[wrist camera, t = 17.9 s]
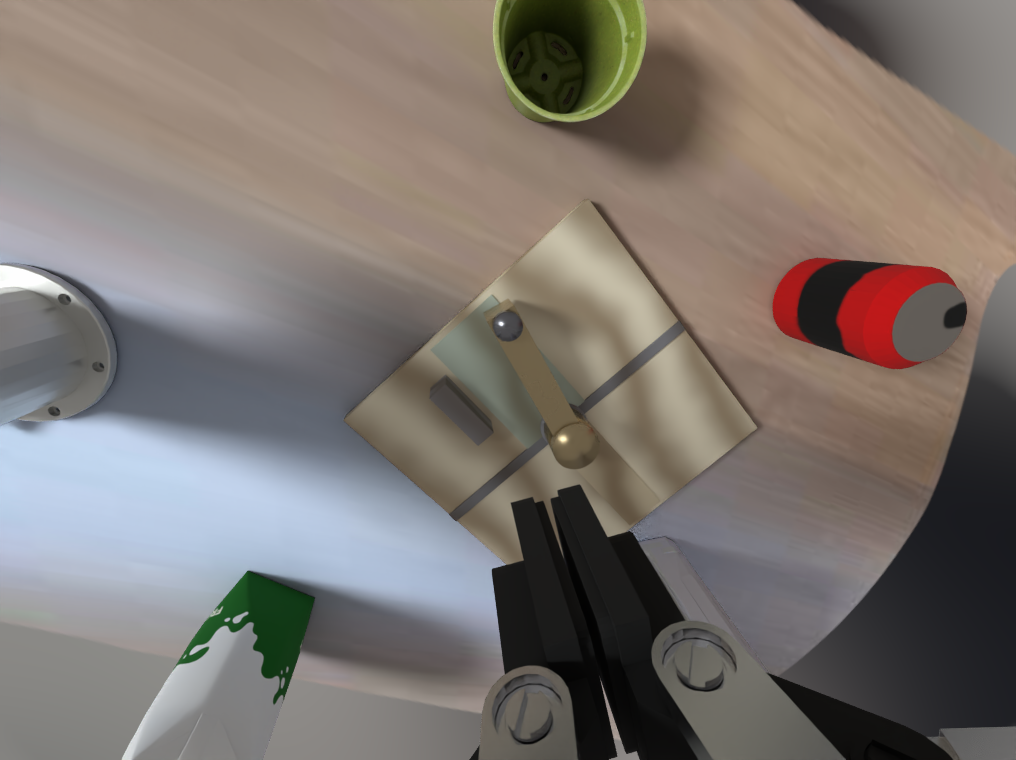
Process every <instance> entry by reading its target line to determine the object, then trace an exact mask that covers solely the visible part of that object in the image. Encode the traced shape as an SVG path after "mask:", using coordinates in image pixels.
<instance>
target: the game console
mask: <svg viewBox="0 0 1016 760" xmlns="http://www.w3.org/2000/svg"><path fill="white" fill-rule="evenodd" d="M638 543H639V544H640V546H641V548H642V549H643V551H644V553H645V554H646V556H647V557H648V559H649V561H650V562H651V564H652V566H653V567H654V569H655V571H656V572H657V574H658V576H659V577H660V579H661V581H662V582H663V584H664V586H665V587H666V589H667V591H668V592H669V594H670V595H671V597H672V599H673V600H674V602H675V604H676V605H677V607H678V609H679V610H680V612H681V614H682V615H683V617H684V619H685V620H686V621H701V622H705V623H709V624H713V625H715V626H717V627H719V628H721V629H723V630H725V631H726V632H727V633H728V634H730V635H731V636H732V637H733V638H734V639H735V640H737V642H738V643H739V644H740V645H741V646H742V647H743V648H744V649H745V650H746V651H747V652H748V654H749V655H750V656H751V657H752V658H753V659H754V660H755V661H756V662H757V663H758V664H759V666H760V667H761V668H762V669H763V670H764V671H765V672H767V673H769V672H768V671H767V670H766V668H765V667H764V665H763V664H762V663H761V661H760V660H759V659H758V657H757V656H756V654H755V653H754V652H753V650H752V649H751V647H750V646H749V645H748V643H747V642H746V641H745V639H744V638H743V636H742V635H741V634H740V632H739V631H738V629H737V628H736V627H735V625H734V624H733V622H732V621H731V620H730V618H729V617H728V616H727V614H726V613H725V611H724V610H723V609H722V607H721V606H720V604H719V603H718V602H717V600H716V599H715V598H714V596H713V595H712V593H711V592H710V591H709V589H708V588H707V586H706V585H705V584H704V582H703V581H702V580H701V578H700V577H699V575H698V574H697V573H696V571H695V570H694V568H693V567H692V566H691V564H690V563H689V562H688V560H687V559H686V557H685V556H684V555H683V553H682V552H681V550H680V549H679V548H678V546H677V545H676V543H675V542H674V541H672V540H670V539H668V538H666V537H661V538H656V539H651V540H646V541H641V542H638Z"/></svg>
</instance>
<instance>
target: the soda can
mask: <svg viewBox="0 0 1016 760" xmlns="http://www.w3.org/2000/svg"><path fill="white" fill-rule="evenodd" d="M966 314H967V305H966V301H965V298H964V296H963V294H962V292H961V291H960V290H959V289H958V288H957V286H956V284H955V283H954V281H953V280H952V279H951V277H950V276H949V275H948V274H947V273H945V272H943V271H942V270H940V269H937V268H933V267H924V266H912V265H900V264H888V263H875V262H863V261H851V260H839V259H827V258H814V259H809V260H806V261H804V262H801V263H800V264H798V265H796V266H795V267H793V268H792V269H791V270H790V271H789V272H788V273H787V274H786V275H785V276H784V277H783V279H782V280H781V282H780V284H779V285H778V287H777V290H776V292H775V295H774V300H773V315H774V319H775V322H776V324H777V326H778V327H779V329H780V330H781V331H782V332H783V333H785V334H786V335H788V336H790V337H792V338H795V339H798V340H801V341H804V342H808V343H811V344H814V345H817V346H820V347H823V348H826V349H829V350H833V351H836V352H839V353H842V354H845V355H848V356H851V357H854V358H858V359H861V360H864V361H867V362H870V363H873V364H876V365H879V366H883V367H886V368H891V369H903V368H908V367H912V366H914V365H917V364H919V363H921V362H924V361H927V360H930V359H933V358H935V357H937V356H939V355H940V354H942V353H943V352H944V351H946V350H947V349H948V348H949V347H950V346H951V345H952V344H953V343H954V342H955V340H956V339H957V338H958V336H959V335H960V333H961V331H962V329H963V326H964V323H965V320H966Z"/></svg>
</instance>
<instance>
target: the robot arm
mask: <svg viewBox="0 0 1016 760" xmlns="http://www.w3.org/2000/svg"><path fill="white" fill-rule="evenodd" d="M116 368H117V352H116V345H115V341H114V338H113V335H112V332H111V330H110V327H109V326H108V324H107V322H106V320H105V319H104V317H103V315H102V314H101V312H100V311H99V310H98V309H97V308H96V306H95V305H94V304H93V303H92V302H91V300H90V299H88V298H87V297H86V296H85V295H84V294H83V293H82V292H80V291H79V290H78V289H77V288H76V287H74V286H73V285H71V284H69V283H68V282H66V281H65V280H63V279H62V278H60V277H58V276H56V275H53V274H51V273H49V272H47V271H44V270H42V269H38V268H35V267H31V266H28V265H22V264H14V263H0V426H1V425H3V424H6V423H8V422H10V421H12V420H15V419H18V420H23V421H35V422H45V421H56V420H60V419H64V418H68V417H71V416H73V415H76V414H78V413H80V412H82V411H84V410H86V409H87V408H89V407H91V406H92V405H94V404H95V403H97V402H98V401H99V400H100V399H101V398H102V397H103V396H104V395H105V394H106V392H107V391H108V389H109V387H110V386H111V384H112V382H113V379H114V376H115V373H116ZM557 492H558V497H554V498H551V499H550V500H551V505H552V509H553V514H554V518H555V522H556V527H557V531H558V535H559V540H560V544H561V548H562V552H561V549H560V546H559V543H558V541H557V538H556V535H555V532H554V529H553V526H552V524H551V521H550V518H549V515H548V512H547V509H546V506H545V504H544V501H539V502H536V503H535V502H534V499H533V497H530V498H526V499H522V500H519V501H515V502H511V507H512V511H513V516H514V520H515V524H516V529H517V533H518V538H519V542H520V546H521V551H522V555H523V561H519V562H516V563H512V564H508V565H505V566H501V567H497V568H494V569H492V577H493V585H494V593H495V601H496V609H497V616H498V624H499V632H500V640H501V648H502V656H503V663H504V671H505V675H504V676H502V677H501V678H500V679H499V680H498V681H497V682H496V683H495V684H494V685H493V686H492V688H491V690H490V691H489V693H488V695H487V697H486V699H485V703H484V707H483V711H482V721H481V722H482V723H481V734H480V745H479V747H478V748H477V750H476V751H475V753H474V754H473V756H472V757H471V758H470V760H609V759H611V758H615V757H617V752H616V748H615V744H614V739H613V734H612V730H611V725H610V721H609V716H608V712H607V708H606V703H605V699H604V694H603V690H602V685H603V688H604V691H605V693H606V696H607V699H608V702H609V705H610V708H611V711H612V714H613V717H614V720H615V723H616V726H617V729H618V732H619V735H620V738H621V741H622V744H623V746H624V749H625V752H626V754H628V753H632V752H635V751H637V753H638V756H639V759H640V760H1016V727H995V728H994V727H993V728H957V729H940V733H939V737H925V736H924V735H922V734H920V733H918V732H916V731H914V730H912V729H910V728H908V727H906V726H904V725H901V724H899V723H896V722H893V721H891V720H888V719H885V718H883V717H880V716H878V715H875V714H873V713H870V712H867V711H865V710H862V709H860V708H857V707H855V706H852V705H849V704H847V703H844V702H842V701H839V700H837V699H834V698H831V697H829V696H826V695H823V694H821V693H818V692H816V691H813V690H811V689H808V688H805V687H803V686H800V685H798V684H795V683H793V682H790V681H787V680H785V679H782V678H780V677H777V676H774V675H772V674H769V673H767V672H765V671H764V670H763V669H762V668H761V667H760V666H759V664H758V663H757V662H756V661H755V660H754V659H753V658H752V657H751V656H750V655H749V654H748V652H747V651H746V650H745V649H744V648H743V647H742V646H741V645H740V644H739V643H738V642H737V640H735V639H734V638H733V637H732V636H731V635H730V634H728V633H727V632H726V631H725V630H723V629H721V628H719V627H717V626H715V625H713V624H709V623H705V622H701V621H686V620H685V619H684V617H683V615H682V614H681V612H680V610H679V609H678V607H677V605H676V604H675V602H674V600H673V599H672V597H671V595H670V594H669V592H668V591H667V589H666V587H665V586H664V584H663V582H662V581H661V579H660V577H659V576H658V574H657V572H656V571H655V569H654V567H653V566H652V564H651V562H650V561H649V559H648V557H647V556H646V554H645V553H644V551H643V549H642V548H641V546H640V544H639V543H638V541H637V539H636V538H635V536H634V535H633V533H632V532H630V531H628V532H625V533H621V534H617V535H614V536H610V537H607V535H606V533H605V531H604V529H603V527H602V525H601V523H600V521H599V520H598V518H597V516H596V514H595V512H594V510H593V508H592V506H591V504H590V502H589V500H588V498H587V496H586V494H585V492H584V490H583V489H582V487H581V485H580V484H578V485H574V486H571V487H567V488H563V489H560V490H557ZM562 553H563V555H562ZM563 557H564V558H563ZM600 679H601V681H600ZM601 682H602V685H601Z"/></svg>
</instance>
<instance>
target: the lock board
mask: <svg viewBox="0 0 1016 760" xmlns="http://www.w3.org/2000/svg"><path fill="white" fill-rule="evenodd" d="M506 299H509V300H510V301H511V302H512V303H513V304H514V306H515V308H516V309H517V311H518V313H519V315H520V317H521V319H522V320H523V322H524V324H525V326H526V328H527V329H528V331H529V333H530V335H531V337H532V338H533V340H534V342H535V344H536V346H537V347H538V349H539V351H540V353H541V355H542V357H543V358H544V360H545V362H546V364H547V366H548V367H549V369H550V371H551V373H552V375H553V376H554V378H555V380H556V382H557V384H558V385H559V387H560V389H561V391H562V393H563V395H564V396H565V398H566V400H567V402H568V404H569V405H570V407H571V408H573V409H576V410H578V411H579V412H580V413H581V414H582V415H583V416H584V418H585V419H586V420H587V422H588V423H589V425H590V426H591V427H592V429H593V430H594V431H595V433H596V434H597V436H598V438H599V441H600V450H599V453H598V455H597V457H596V459H595V460H594V461H593V462H592V463H591V464H589V465H588V466H586V467H584V468H581V469H568V468H565V467H563V466H561V465H560V464H559V463H558V462H557V460H556V459H555V457H554V455H553V452H552V450H551V448H550V446H549V444H548V442H547V440H546V437H545V435H544V424H545V421H544V419H543V417H542V416H541V414H540V412H539V410H538V409H537V407H536V405H535V404H534V402H533V400H532V398H531V397H530V395H529V393H528V392H527V390H526V388H525V386H524V385H523V383H522V381H521V379H520V378H519V376H518V374H517V373H516V371H515V369H514V367H513V366H512V364H511V362H510V361H509V359H508V357H507V355H506V354H505V352H504V350H503V349H502V347H501V345H500V343H499V342H498V340H497V338H496V336H495V335H494V333H493V331H492V330H491V328H490V326H489V324H488V323H487V321H486V318H485V316H484V314H483V313H484V312H485V311H487V310H489V309H490V308H492V307H494V306H496V305H497V304H499V303H501V302H503V301H504V300H506ZM343 421H345V422H346V423H347V424H348V425H349V426H350V427H351V428H352V429H354V430H355V431H356V432H357V433H358V434H359V435H360V436H362V437H363V438H364V439H365V440H366V441H367V442H368V443H369V444H371V445H372V446H373V447H374V448H375V449H376V450H377V451H379V452H380V453H381V454H382V455H383V456H384V457H385V458H386V459H388V460H389V461H390V462H391V463H392V464H393V465H394V466H395V467H397V468H398V469H399V470H400V471H401V472H402V473H403V474H405V475H406V476H407V477H408V478H409V479H410V480H411V481H412V482H414V483H415V484H416V485H417V486H418V487H419V488H420V489H422V490H423V491H424V492H425V493H426V494H427V495H428V496H429V497H431V498H432V499H433V500H434V501H435V502H436V503H437V504H439V505H440V506H441V507H442V508H443V509H444V510H445V511H446V512H448V513H449V515H450V516H451V517H452V518H453V519H454V520H455V521H458V522H459V523H460V524H461V525H462V526H463V527H465V528H466V529H467V530H468V531H469V532H470V533H471V534H473V535H474V536H475V537H476V538H477V539H478V540H479V541H480V542H482V543H483V544H484V545H485V546H486V547H487V548H488V549H490V550H491V551H492V552H493V553H494V554H495V555H496V556H497V557H499V558H500V559H501V560H502V561H503V562H504V563H505V564H507V565H508V564H512V563H516V562H519V561H523V555H522V551H521V546H520V542H519V538H518V533H517V529H516V524H515V520H514V516H513V511H512V507H511V502H515V501H519V500H522V499H526V498H530V497H533V499H534V502H535V503H536V502H539V501H544V504H545V506H546V509H547V512H548V515H549V518H550V521H551V524H552V526H553V529H554V532H555V535H556V538H557V541H558V543H559V546H560V549H561V552H562V548H561V544H560V540H559V535H558V531H557V527H556V522H555V518H554V514H553V509H552V505H551V500H550V499H551V498H554V497H558V492H557V490H560V489H563V488H567V487H571V486H574V485H578V484H580V485H581V487H582V489H583V490H584V492H585V494H586V496H587V498H588V500H589V502H590V504H591V506H592V508H593V510H594V512H595V514H596V516H597V518H598V520H599V521H600V523H601V525H602V527H603V529H604V531H605V533H606V535H607V537H610V536H614V535H617V534H621V533H625V532H627V531H628V530H629V529H630V528H632V527H633V526H634V525H635V524H637V523H638V522H639V521H641V520H642V519H643V518H644V517H646V516H647V515H648V514H649V513H651V512H652V511H653V510H654V509H656V508H657V507H658V506H659V505H661V504H662V503H663V502H665V501H666V500H667V499H668V498H670V497H671V496H672V495H673V494H675V493H676V492H677V491H678V490H680V489H681V488H682V487H683V486H685V485H686V484H687V483H689V482H690V481H691V480H692V479H694V478H695V477H696V476H697V475H699V474H700V473H701V472H702V471H704V470H705V469H706V468H708V467H709V466H710V465H711V464H713V463H714V462H715V461H716V460H718V459H719V458H720V457H721V456H723V455H724V454H725V453H726V452H728V451H729V450H730V449H732V448H733V447H734V446H735V445H737V444H738V443H739V442H740V441H742V440H743V439H744V438H745V437H747V436H748V435H749V434H750V433H752V432H753V431H754V430H756V429H757V426H756V425H755V424H754V422H753V421H752V420H751V418H750V417H749V416H748V414H747V413H746V412H745V410H744V409H743V408H742V406H741V405H740V403H739V402H738V401H737V399H736V398H735V397H734V395H733V394H732V393H731V391H730V390H729V389H728V387H727V386H726V384H725V383H724V382H723V380H722V379H721V378H720V376H719V375H718V374H717V372H716V371H715V370H714V368H713V367H712V366H711V364H710V363H709V361H708V360H707V359H706V357H705V356H704V355H703V353H702V352H701V351H700V349H699V348H698V347H697V345H696V344H695V342H694V341H693V340H692V338H691V337H690V336H689V334H688V333H687V332H686V330H685V328H684V327H683V325H682V324H681V323H680V321H678V319H677V318H676V317H675V315H674V314H673V313H672V311H671V310H670V309H669V307H668V306H667V305H666V303H665V302H664V300H663V299H662V298H661V296H660V295H659V294H658V292H657V291H656V290H655V288H654V287H653V286H652V284H651V283H650V282H649V280H648V279H647V277H646V276H645V275H644V273H643V272H642V271H641V269H640V268H639V267H638V265H637V264H636V263H635V261H634V260H633V258H632V257H631V256H630V254H629V253H628V252H627V250H626V249H625V248H624V246H623V245H622V244H621V242H620V241H619V240H618V238H617V237H616V235H615V234H614V233H613V231H612V230H611V229H610V227H609V226H608V225H607V223H606V222H605V221H604V219H603V218H602V216H601V215H600V214H599V212H598V211H597V210H596V208H595V207H594V206H593V204H592V203H591V202H590V200H589V199H585V200H583V201H582V202H581V203H580V204H579V205H578V206H577V207H576V208H575V209H573V210H572V211H571V212H570V213H569V214H568V215H567V216H566V217H565V218H564V219H562V220H561V221H560V222H559V223H558V224H557V225H556V226H555V227H554V228H552V229H551V230H550V231H549V232H548V233H547V234H546V235H545V236H544V237H543V238H541V239H540V240H539V241H538V242H537V243H536V244H535V245H534V246H533V247H532V248H530V249H529V250H528V251H527V252H526V253H525V254H524V255H523V256H522V257H520V258H519V259H518V260H517V261H516V262H515V263H514V264H513V265H512V266H511V267H509V268H508V269H507V270H506V271H505V272H504V273H503V274H502V275H501V276H499V277H498V278H497V279H496V280H495V281H494V282H493V283H492V284H491V285H490V286H488V287H487V288H486V289H485V290H484V291H483V292H482V293H481V294H480V295H479V296H477V297H476V298H475V299H474V300H473V301H472V302H471V303H470V304H469V305H467V306H466V307H465V308H464V309H463V310H462V311H461V312H460V313H459V314H458V315H456V316H455V317H454V318H453V319H452V320H451V321H450V322H449V323H448V324H447V325H445V326H444V327H443V328H442V329H441V330H440V331H439V332H438V333H437V334H435V335H434V336H433V337H432V338H431V339H430V340H429V341H428V342H427V343H426V344H424V345H423V346H422V347H421V348H420V349H419V350H418V351H417V352H416V353H414V354H413V355H412V356H411V357H410V358H409V359H408V360H407V361H406V362H405V363H403V364H402V365H401V366H400V367H399V368H398V369H397V370H396V371H395V372H394V373H392V374H391V375H390V376H389V377H388V378H387V379H386V380H385V381H384V382H382V383H381V384H380V385H379V386H378V387H377V388H376V389H375V390H374V391H373V392H371V393H370V394H369V395H368V396H367V397H366V398H365V399H364V400H363V401H361V402H360V403H359V404H358V405H357V406H356V407H355V408H354V409H353V410H352V411H350V412H349V413H348V414H347V415H346V417H345V418H344V420H343ZM562 555H563V553H562ZM563 558H564V557H563Z"/></svg>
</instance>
